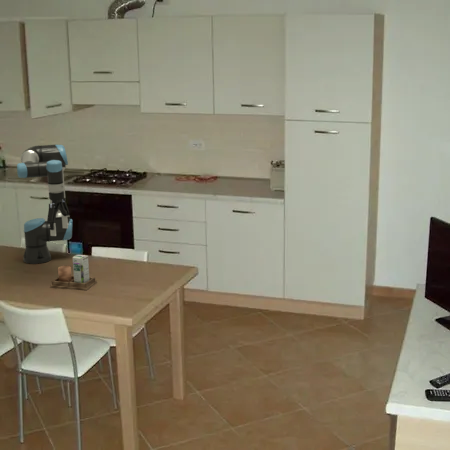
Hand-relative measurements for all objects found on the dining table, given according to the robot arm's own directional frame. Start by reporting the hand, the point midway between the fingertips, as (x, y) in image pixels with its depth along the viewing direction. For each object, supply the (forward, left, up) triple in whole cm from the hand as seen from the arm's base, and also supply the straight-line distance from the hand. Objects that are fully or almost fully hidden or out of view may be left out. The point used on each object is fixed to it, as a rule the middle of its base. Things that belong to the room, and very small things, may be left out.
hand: (59, 231), depth 355 cm
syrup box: (+8, +14, -24) cm, 29 cm away
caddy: (+8, +10, -25) cm, 28 cm away
